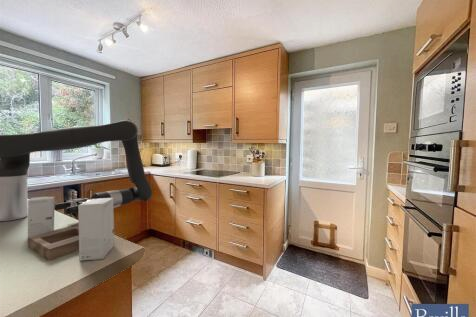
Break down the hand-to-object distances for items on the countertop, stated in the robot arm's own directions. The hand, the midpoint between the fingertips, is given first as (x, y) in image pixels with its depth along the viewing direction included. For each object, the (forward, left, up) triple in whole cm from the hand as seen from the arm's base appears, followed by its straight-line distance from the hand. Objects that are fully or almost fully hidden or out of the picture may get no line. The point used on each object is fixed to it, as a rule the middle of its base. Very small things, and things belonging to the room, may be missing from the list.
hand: (60, 209), depth 74 cm
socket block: (+16, -5, -7) cm, 18 cm away
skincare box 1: (0, -5, -7) cm, 9 cm away
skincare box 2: (+29, -3, -7) cm, 30 cm away
